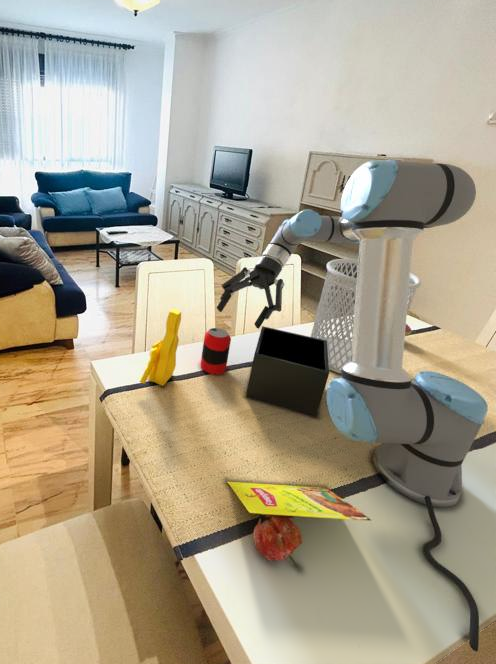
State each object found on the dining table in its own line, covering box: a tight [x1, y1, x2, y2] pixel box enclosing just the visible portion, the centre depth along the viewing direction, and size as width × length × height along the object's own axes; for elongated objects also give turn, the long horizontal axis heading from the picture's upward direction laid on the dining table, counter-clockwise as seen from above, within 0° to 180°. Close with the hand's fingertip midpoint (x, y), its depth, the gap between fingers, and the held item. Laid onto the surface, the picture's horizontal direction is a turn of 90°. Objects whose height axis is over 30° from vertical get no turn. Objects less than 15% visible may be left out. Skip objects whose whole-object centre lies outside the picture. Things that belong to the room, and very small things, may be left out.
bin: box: [245, 325, 330, 418], centre depth 105 cm, size 18×18×14 cm
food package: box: [227, 481, 373, 522], centre depth 70 cm, size 15×1×20 cm
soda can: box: [200, 327, 232, 375], centre depth 113 cm, size 8×8×12 cm
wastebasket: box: [310, 258, 422, 375], centre depth 120 cm, size 25×25×30 cm
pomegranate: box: [253, 513, 303, 568], centre depth 64 cm, size 7×7×10 cm
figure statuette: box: [139, 308, 182, 387], centre depth 105 cm, size 18×8×22 cm, turn 150°
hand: (236, 318), depth 117 cm, fingers open, 13 cm apart
